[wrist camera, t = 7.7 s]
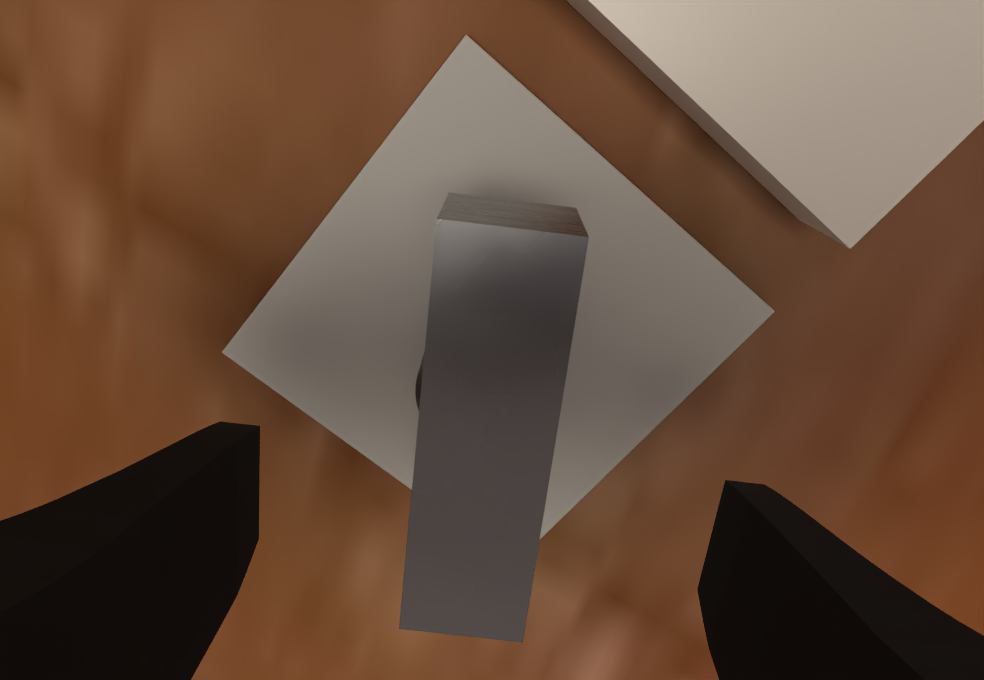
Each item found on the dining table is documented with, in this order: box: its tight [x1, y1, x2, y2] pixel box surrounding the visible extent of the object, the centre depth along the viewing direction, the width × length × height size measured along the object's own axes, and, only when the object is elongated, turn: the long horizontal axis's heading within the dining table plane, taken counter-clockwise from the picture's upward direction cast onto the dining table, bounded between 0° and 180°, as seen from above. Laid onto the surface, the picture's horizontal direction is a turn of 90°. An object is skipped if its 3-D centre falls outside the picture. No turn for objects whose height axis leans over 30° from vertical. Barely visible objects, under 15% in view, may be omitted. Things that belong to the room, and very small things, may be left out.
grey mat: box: [222, 35, 775, 539], centre depth 20 cm, size 10×10×1 cm
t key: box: [399, 192, 589, 642], centre depth 16 cm, size 8×3×6 cm, turn 173°
